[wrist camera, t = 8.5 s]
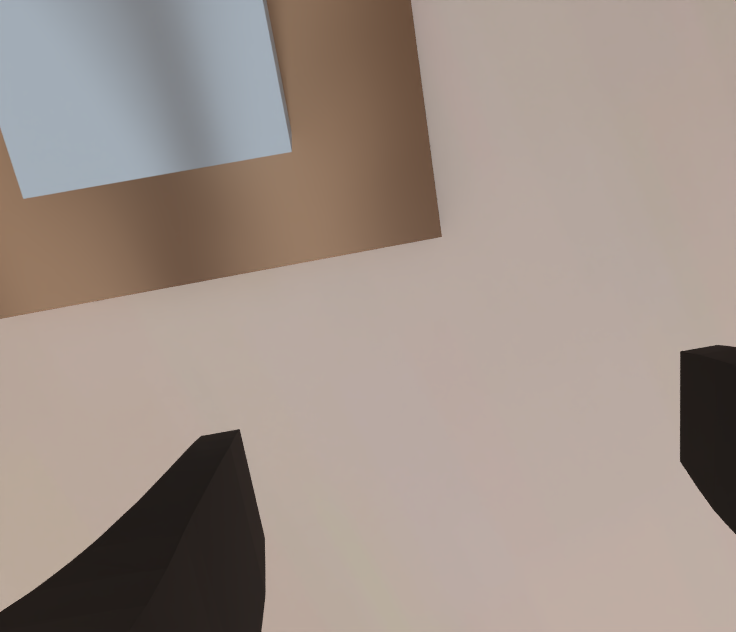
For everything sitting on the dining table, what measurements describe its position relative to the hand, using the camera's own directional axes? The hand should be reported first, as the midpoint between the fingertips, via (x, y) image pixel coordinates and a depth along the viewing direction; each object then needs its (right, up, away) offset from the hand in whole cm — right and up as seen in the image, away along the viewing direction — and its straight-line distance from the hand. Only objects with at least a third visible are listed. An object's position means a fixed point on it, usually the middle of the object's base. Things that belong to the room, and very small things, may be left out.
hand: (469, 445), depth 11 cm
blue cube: (-6, +9, +6) cm, 12 cm away
